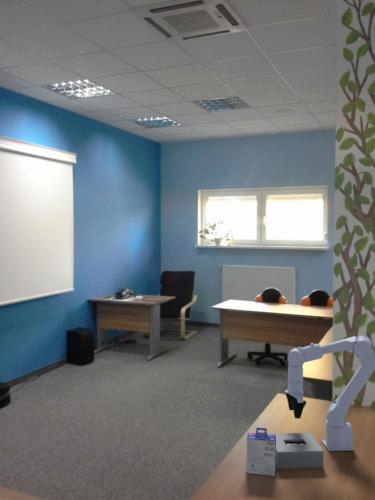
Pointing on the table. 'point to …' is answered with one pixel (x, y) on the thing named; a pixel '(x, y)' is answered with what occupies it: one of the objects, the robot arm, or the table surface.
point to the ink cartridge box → (261, 453)
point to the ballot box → (298, 451)
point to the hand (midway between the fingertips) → (294, 413)
